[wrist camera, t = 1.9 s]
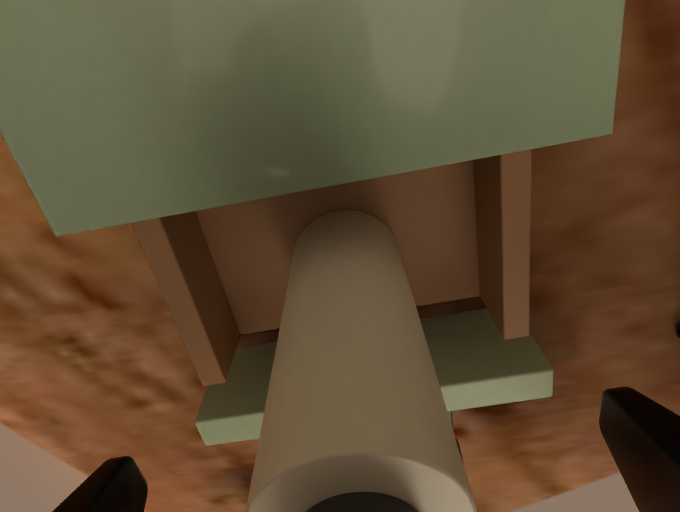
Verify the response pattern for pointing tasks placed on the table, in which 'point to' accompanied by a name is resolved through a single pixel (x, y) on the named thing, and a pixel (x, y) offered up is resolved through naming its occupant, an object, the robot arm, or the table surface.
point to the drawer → (419, 262)
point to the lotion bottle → (354, 386)
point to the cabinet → (285, 94)
